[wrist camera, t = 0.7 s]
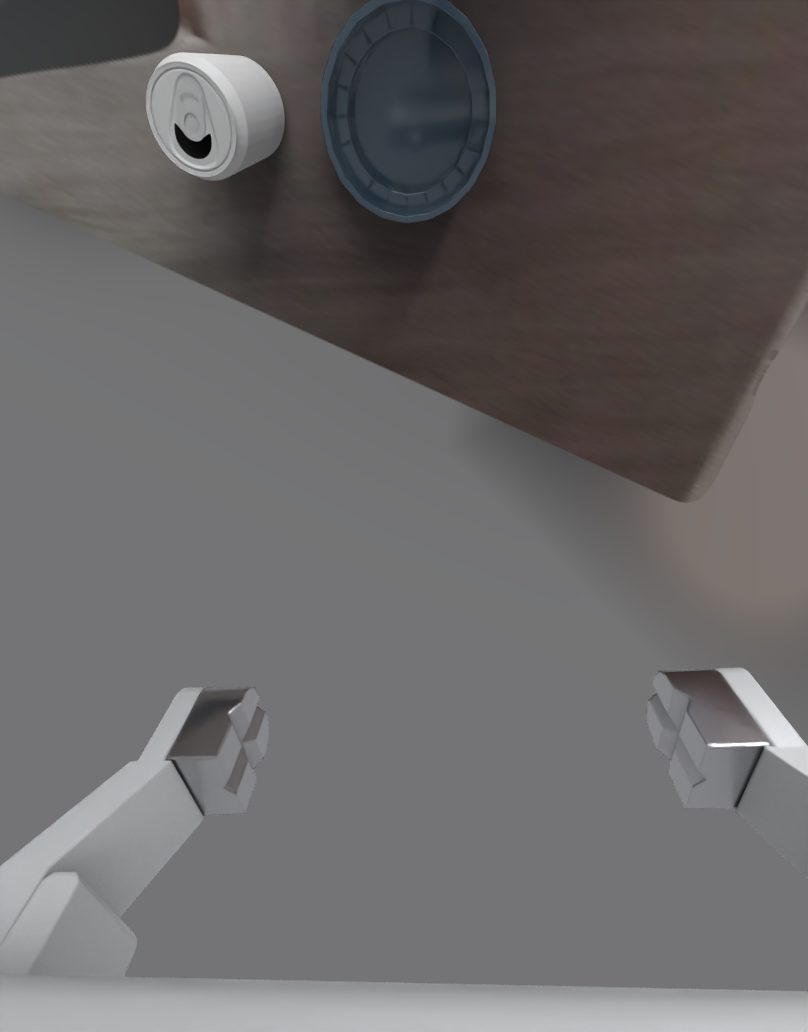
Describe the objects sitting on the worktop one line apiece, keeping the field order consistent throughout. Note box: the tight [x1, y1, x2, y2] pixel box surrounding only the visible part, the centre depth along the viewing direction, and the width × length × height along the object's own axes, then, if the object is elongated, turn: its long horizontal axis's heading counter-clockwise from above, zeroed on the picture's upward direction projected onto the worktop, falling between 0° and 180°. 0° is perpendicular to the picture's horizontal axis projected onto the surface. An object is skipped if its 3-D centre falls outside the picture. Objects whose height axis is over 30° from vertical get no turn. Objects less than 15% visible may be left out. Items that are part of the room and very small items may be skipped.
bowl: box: [321, 0, 496, 223], centre depth 36 cm, size 13×13×4 cm
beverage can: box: [146, 53, 285, 181], centre depth 33 cm, size 6×6×12 cm
